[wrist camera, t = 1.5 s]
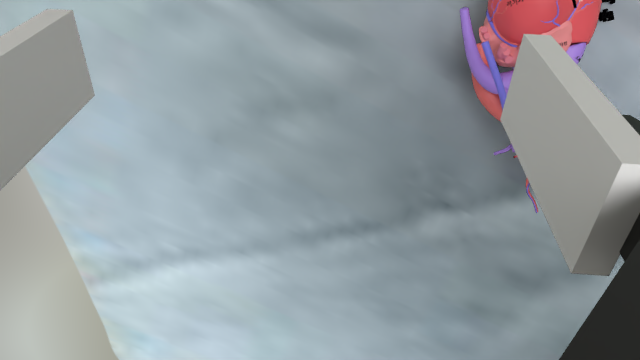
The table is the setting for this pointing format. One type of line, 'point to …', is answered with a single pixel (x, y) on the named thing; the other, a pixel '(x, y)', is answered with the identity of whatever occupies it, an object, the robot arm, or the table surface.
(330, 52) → the table surface
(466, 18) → the heart model
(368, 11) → the table surface
